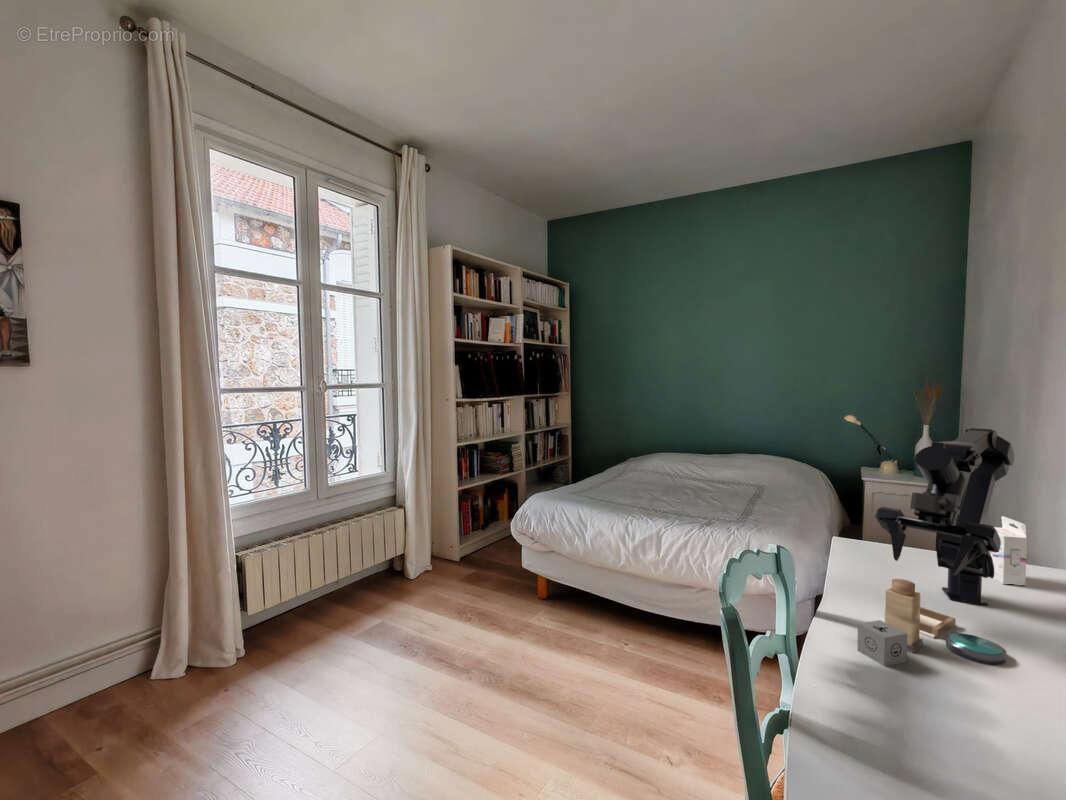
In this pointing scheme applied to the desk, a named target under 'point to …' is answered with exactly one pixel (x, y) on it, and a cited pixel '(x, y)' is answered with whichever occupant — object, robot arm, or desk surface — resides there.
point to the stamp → (904, 611)
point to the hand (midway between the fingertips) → (923, 566)
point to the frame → (934, 623)
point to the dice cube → (882, 642)
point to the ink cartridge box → (1010, 553)
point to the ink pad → (976, 648)
